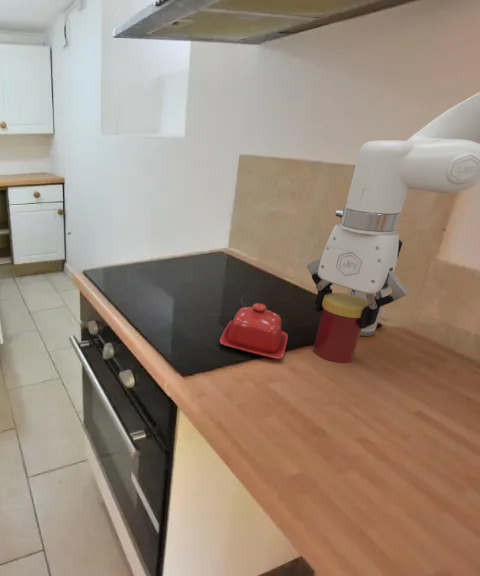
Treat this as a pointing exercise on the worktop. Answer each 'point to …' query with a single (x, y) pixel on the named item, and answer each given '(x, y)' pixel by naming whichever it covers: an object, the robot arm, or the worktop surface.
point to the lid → (344, 304)
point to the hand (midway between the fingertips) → (342, 317)
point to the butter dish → (256, 332)
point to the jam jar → (337, 337)
